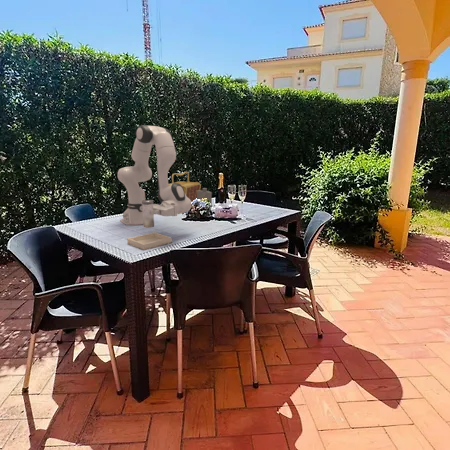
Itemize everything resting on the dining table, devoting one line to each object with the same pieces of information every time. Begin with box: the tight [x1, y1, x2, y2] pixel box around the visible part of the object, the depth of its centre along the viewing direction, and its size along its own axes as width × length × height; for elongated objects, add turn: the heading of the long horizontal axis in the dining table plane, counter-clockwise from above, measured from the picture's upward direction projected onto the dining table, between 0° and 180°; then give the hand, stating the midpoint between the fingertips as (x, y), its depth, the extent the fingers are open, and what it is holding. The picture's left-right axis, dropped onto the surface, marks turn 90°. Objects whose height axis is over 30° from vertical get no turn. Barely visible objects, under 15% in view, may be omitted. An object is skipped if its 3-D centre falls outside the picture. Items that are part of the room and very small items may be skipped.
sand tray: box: [127, 231, 173, 251], centre depth 171 cm, size 16×18×3 cm
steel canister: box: [142, 199, 155, 229], centre depth 167 cm, size 6×6×14 cm
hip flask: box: [197, 187, 213, 205], centre depth 247 cm, size 16×4×20 cm, turn 45°
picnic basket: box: [168, 171, 201, 201], centre depth 273 cm, size 29×26×30 cm
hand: (146, 212), depth 166 cm, fingers closed on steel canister, 6 cm apart
